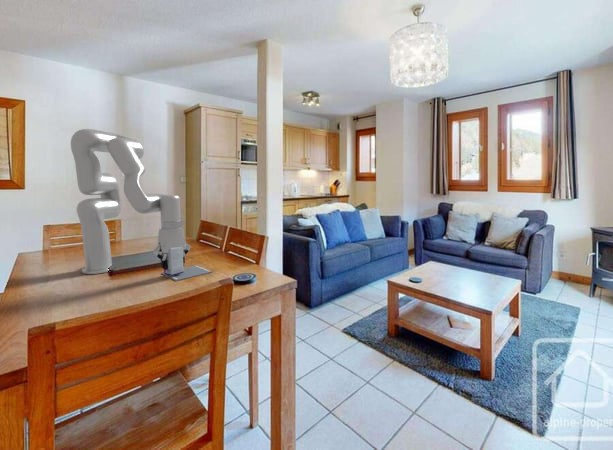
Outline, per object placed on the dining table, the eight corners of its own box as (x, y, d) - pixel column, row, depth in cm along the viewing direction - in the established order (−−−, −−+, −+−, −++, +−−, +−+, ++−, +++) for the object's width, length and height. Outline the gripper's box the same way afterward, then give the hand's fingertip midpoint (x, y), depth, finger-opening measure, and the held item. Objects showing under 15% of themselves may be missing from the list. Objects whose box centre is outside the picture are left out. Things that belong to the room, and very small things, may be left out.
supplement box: (184, 272, 128) (182, 246, 126) (171, 276, 123) (170, 248, 121) (176, 270, 131) (174, 244, 129) (163, 273, 126) (161, 246, 124)
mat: (161, 273, 130) (161, 272, 130) (196, 265, 142) (196, 264, 141) (176, 281, 121) (175, 280, 120) (212, 272, 132) (212, 271, 132)
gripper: (187, 222, 133) (189, 261, 135) (145, 226, 120) (148, 269, 123) (195, 224, 128) (197, 265, 130) (152, 228, 115) (155, 273, 118)
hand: (173, 266), depth 126 cm, fingers open, 6 cm apart
